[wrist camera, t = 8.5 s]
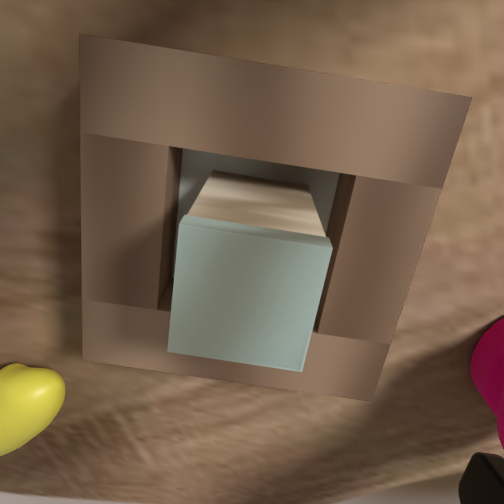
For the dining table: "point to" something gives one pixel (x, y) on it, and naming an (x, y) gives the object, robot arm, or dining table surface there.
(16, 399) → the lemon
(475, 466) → the robot arm
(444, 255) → the dining table surface
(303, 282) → the peg
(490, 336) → the pepper mill
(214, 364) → the socket block
